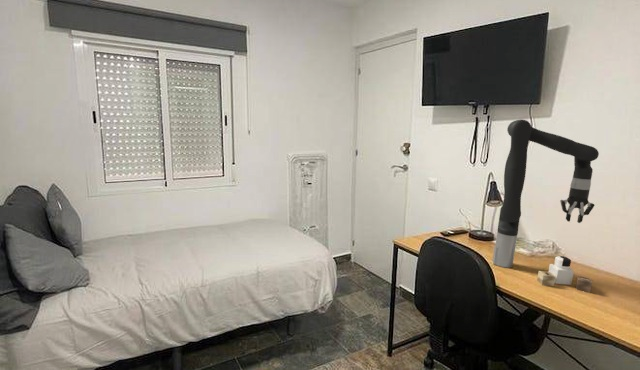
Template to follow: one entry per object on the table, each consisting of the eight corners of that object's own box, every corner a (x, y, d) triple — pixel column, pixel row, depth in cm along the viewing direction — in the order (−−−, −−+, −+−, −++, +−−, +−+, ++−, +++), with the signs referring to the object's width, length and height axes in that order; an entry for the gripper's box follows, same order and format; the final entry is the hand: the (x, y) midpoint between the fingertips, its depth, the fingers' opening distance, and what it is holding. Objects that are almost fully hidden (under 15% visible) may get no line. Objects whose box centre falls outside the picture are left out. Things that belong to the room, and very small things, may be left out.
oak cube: (541, 285, 156) (543, 275, 155) (537, 280, 161) (538, 270, 160) (553, 286, 155) (555, 276, 154) (548, 281, 160) (550, 271, 159)
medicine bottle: (562, 278, 164) (566, 255, 162) (571, 285, 157) (576, 261, 155) (547, 277, 165) (551, 254, 163) (555, 283, 158) (560, 259, 156)
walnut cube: (576, 289, 153) (578, 279, 152) (575, 285, 157) (577, 275, 156) (589, 293, 150) (592, 282, 150) (589, 289, 154) (591, 278, 154)
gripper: (565, 187, 161) (558, 221, 165) (601, 190, 157) (594, 226, 160) (560, 184, 168) (554, 217, 172) (594, 188, 163) (588, 222, 167)
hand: (573, 221), depth 166 cm, fingers open, 3 cm apart
